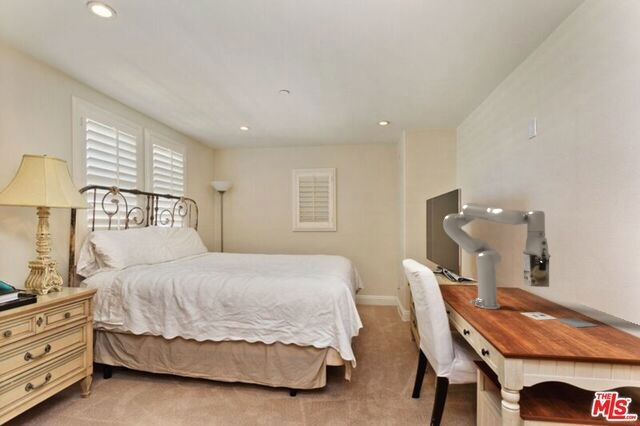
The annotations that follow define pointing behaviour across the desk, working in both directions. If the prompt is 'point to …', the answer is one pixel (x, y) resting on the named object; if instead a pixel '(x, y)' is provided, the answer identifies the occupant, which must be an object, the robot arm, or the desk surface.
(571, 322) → the mat
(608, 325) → the desk surface
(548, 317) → the card
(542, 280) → the coffee box
